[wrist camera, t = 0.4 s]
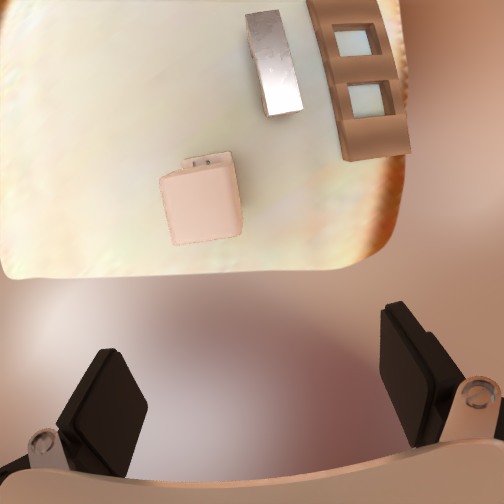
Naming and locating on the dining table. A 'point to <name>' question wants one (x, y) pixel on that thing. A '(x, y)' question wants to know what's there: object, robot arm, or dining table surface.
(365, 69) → the wooden frame
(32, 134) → the dining table surface
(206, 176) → the security camera
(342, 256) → the dining table surface
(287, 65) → the grey rectangular block
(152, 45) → the dining table surface
